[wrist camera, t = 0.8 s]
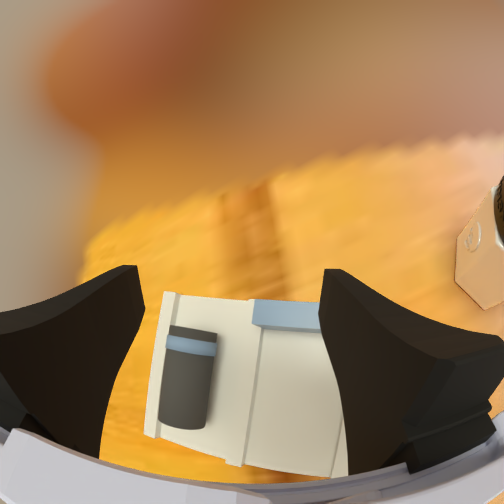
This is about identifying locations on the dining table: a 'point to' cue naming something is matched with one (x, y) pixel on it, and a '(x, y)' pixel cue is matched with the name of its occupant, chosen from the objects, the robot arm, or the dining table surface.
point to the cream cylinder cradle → (258, 386)
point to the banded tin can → (187, 377)
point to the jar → (483, 251)
